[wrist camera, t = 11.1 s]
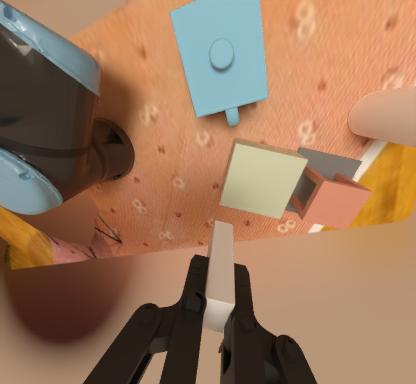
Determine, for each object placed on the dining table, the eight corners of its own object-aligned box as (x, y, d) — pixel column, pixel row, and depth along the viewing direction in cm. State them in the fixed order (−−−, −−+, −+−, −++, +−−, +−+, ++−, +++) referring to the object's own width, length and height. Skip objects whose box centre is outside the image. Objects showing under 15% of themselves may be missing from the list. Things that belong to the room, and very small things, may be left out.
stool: (302, 220, 36) (345, 230, 35) (324, 180, 31) (372, 192, 31) (288, 198, 44) (323, 206, 44) (304, 165, 40) (342, 174, 40)
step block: (220, 191, 46) (219, 205, 39) (234, 137, 39) (236, 143, 33) (272, 203, 45) (279, 219, 39) (295, 151, 39) (308, 159, 33)
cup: (384, 135, 36) (487, 154, 22) (342, 136, 37) (413, 154, 22) (403, 89, 32) (541, 75, 18) (355, 91, 33) (450, 79, 19)
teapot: (259, 115, 37) (273, 119, 24) (208, 128, 39) (198, 137, 27) (242, -30, 28) (251, -137, 16) (178, -2, 30) (142, -76, 18)
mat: (273, 206, 46) (273, 207, 46) (299, 147, 39) (299, 147, 38) (325, 218, 46) (325, 219, 45) (361, 161, 38) (362, 161, 38)
